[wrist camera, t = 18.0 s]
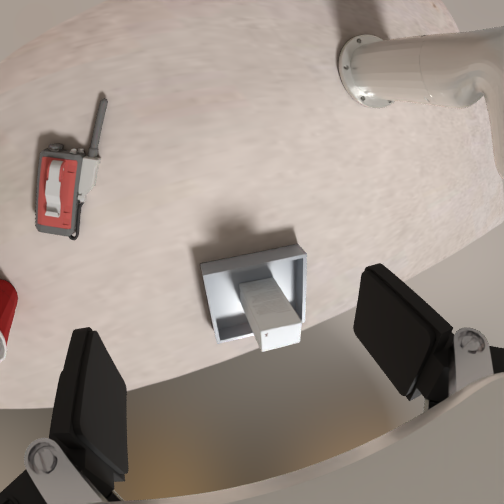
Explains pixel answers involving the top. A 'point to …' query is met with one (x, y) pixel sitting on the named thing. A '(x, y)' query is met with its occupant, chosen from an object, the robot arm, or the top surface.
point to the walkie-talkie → (66, 183)
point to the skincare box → (269, 314)
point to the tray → (246, 270)
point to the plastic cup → (6, 313)
